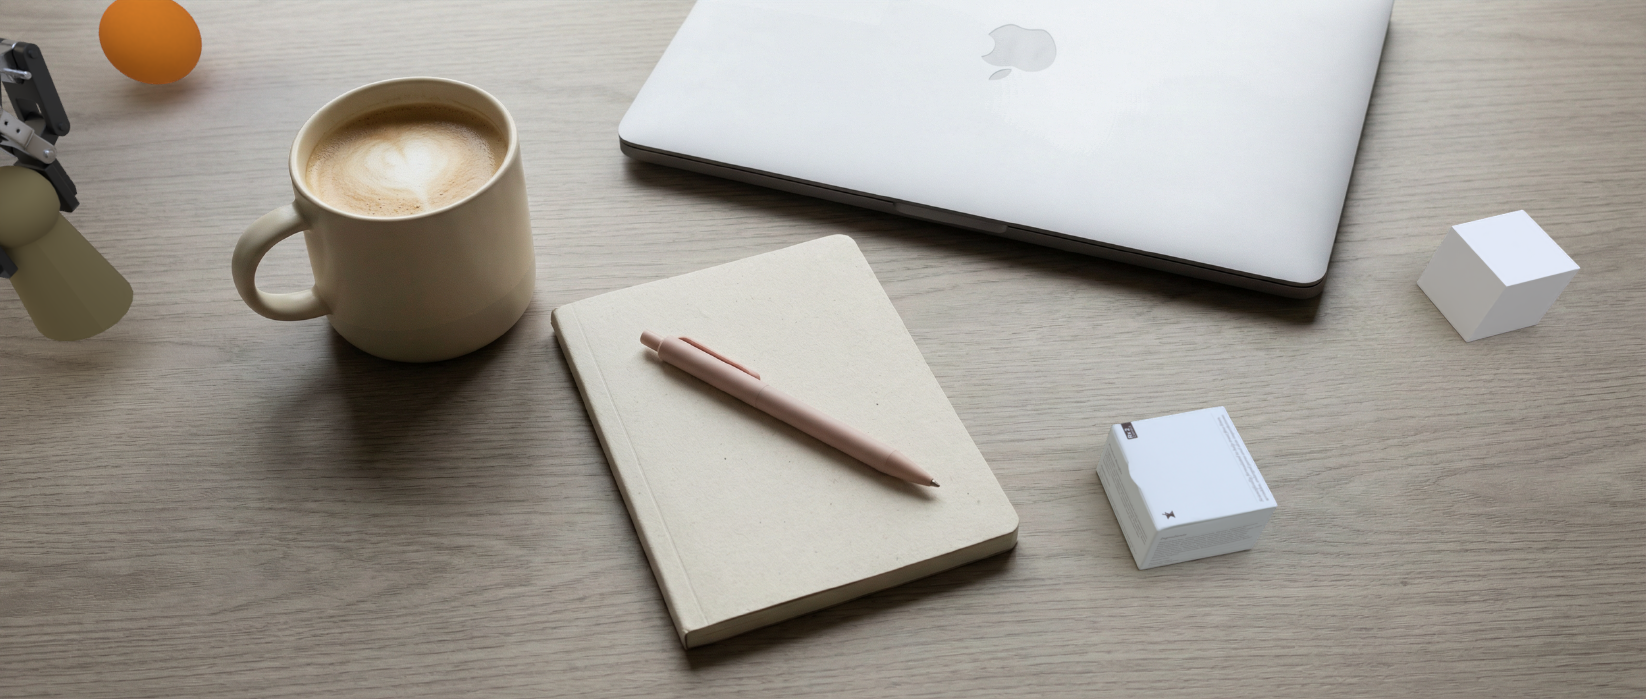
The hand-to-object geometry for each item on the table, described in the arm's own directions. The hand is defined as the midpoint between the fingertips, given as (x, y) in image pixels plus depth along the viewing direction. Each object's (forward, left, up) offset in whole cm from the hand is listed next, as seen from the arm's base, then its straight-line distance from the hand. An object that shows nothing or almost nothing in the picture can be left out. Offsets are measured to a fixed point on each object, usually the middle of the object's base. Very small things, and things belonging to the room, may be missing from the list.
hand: (32, 238), depth 69 cm
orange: (-16, +29, -8) cm, 34 cm away
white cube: (+93, +28, -12) cm, 98 cm away
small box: (+72, +5, -12) cm, 73 cm away
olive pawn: (0, 0, -7) cm, 7 cm away
